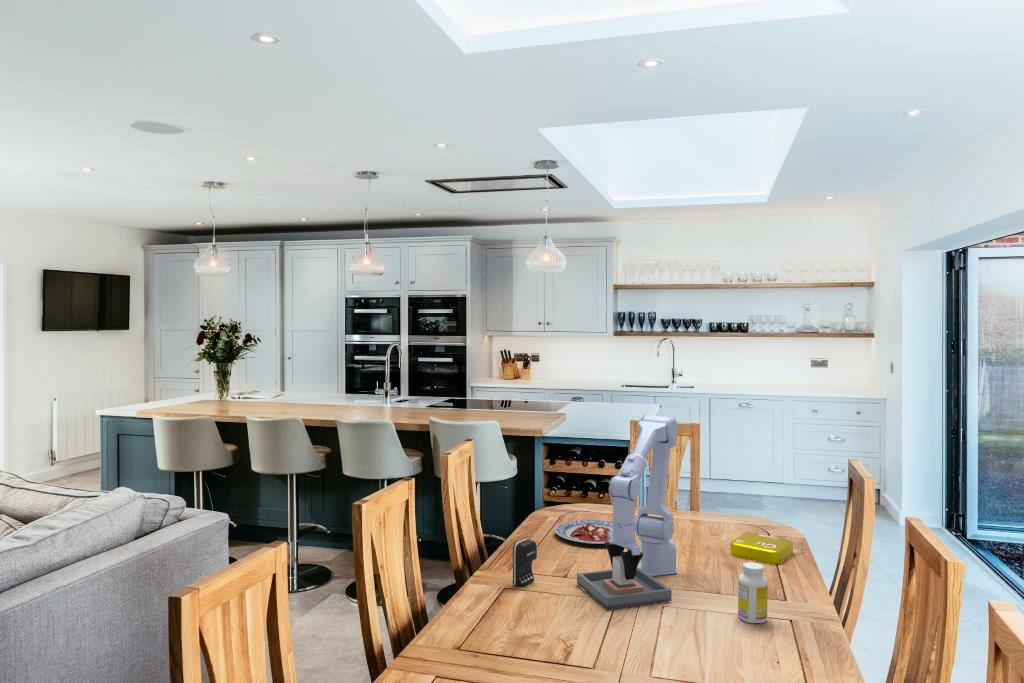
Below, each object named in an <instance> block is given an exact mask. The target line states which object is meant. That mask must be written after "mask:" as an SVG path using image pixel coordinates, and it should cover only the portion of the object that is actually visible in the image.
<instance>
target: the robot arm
mask: <svg viewBox="0 0 1024 683" xmlns="http://www.w3.org/2000/svg"><path fill="white" fill-rule="evenodd" d="M677 422H678V421H677V420H676V418H675V417H674V416H660V415H658V416H657V415H648V414H642V415H641V416H640V418H639V419H638V423H637V429H638V439H637V441H636V443H635V446H634V449H633V451H632V453H631V454H628V455H627V456H626V457H625V460H624V462H623V464H622V465H621V468H620V470H619V471H618V474H617V475H615V476H613V477H611V479H610V481H609V485H608V486H609V487H608V492H609V493H608V494H609V496H610V504H612V522H613V531H610V532H608V539H609V540H608V542H605V544H604V545H605V548H606V550H607V553H608V555H609V560H610V565H611V568H612V569H613V557H617V556H621V557H622V560H623V563H624V572H625V578H626V580H631V579H634V577H635V573H636V569H637V567H638V568H640V569H641V570H643V571H644V572H646V573H647V574H649V575H650V576H652V577H657V576H666V575H673V574H674V575H675V574H678V571H677V546H676V543H675V542H674V540H673V539H672V538H673V536H674V531H675V525H674V514H673V513H672V512H671V511H670V510H669V509H668V508H667V507H666V496H667V495H666V494H667V486H668V476H669V475H668V474H669V465H670V458H671V457H670V456H671V450H672V448H674V447H676V445H677V439H678V430H679V429H678V428H679V426H678V423H677ZM651 450H652V456H651V463H650V474H649V483H648V492H647V493H648V494H647V503H646V504H645V505H643V506H642V507H640V508H639V509H638V510H637V516H636V500H637V498H638V496H639V494H640V488H641V483H642V482H641V479H642V477H643V475H644V472H645V471H646V468H647V461H646V458H648V455H649V454H650V452H651ZM635 536H637V537H638V540H640V546H639V544H638V542H637V540H636V539H635ZM625 550H627V551H625ZM639 563H640V565H639ZM612 569H611V570H612Z"/></svg>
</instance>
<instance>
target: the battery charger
mask: <svg viewBox="0 0 1024 683" xmlns="http://www.w3.org/2000/svg"><path fill="white" fill-rule="evenodd" d="M537 556H538V551H537V543H536V541H534V540H532V539H528V538H523V539H521V540H519V541H517V542H515V543H514V544H513V546H512V585H514V586H517V585H518V587H525V586H527V585H529V584H531V583H533V582H534V581H535V577H534V573H533V567H532V566H533V561H536V560H537V559H538V558H537ZM532 581H533V582H532ZM530 582H531V583H530ZM528 583H529V584H528ZM526 584H527V585H526ZM524 585H525V586H524Z"/></svg>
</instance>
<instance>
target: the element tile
mask: <svg viewBox="0 0 1024 683" xmlns="http://www.w3.org/2000/svg"><path fill="white" fill-rule="evenodd" d="M793 548H794V543H793V541H792V540H790V539H785V538H782V537H781V538H780V537H776V536H775V537H774V536H770V535H768V534H767V535H765V534H760V533H755V532H751V531H749V532H745V533H743V534H742V535H739V536H738V537H736V538H734V539H732V541H730V555H731V556H732V555H733V557H736V556H737V557H736V558H740V557H741V559H745V558H746V559H745V560H749V559H751V560H750V561H754V560H756V561H755V562H758V561H760V562H759V563H763V562H765V563H764V564H767V563H768V564H767V565H772V564H779V563H781V562H782V561H783V560H785V559H786V560H788V559H789V558H790V557H792V556H793V555H792V554H794V553H793V551H794V549H793ZM791 555H792V556H791ZM789 556H790V557H789ZM788 557H789V558H788ZM787 558H788V559H787ZM786 560H785V561H786ZM769 563H770V564H769ZM782 563H783V562H782ZM782 563H781V564H782ZM779 565H780V564H779Z"/></svg>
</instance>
